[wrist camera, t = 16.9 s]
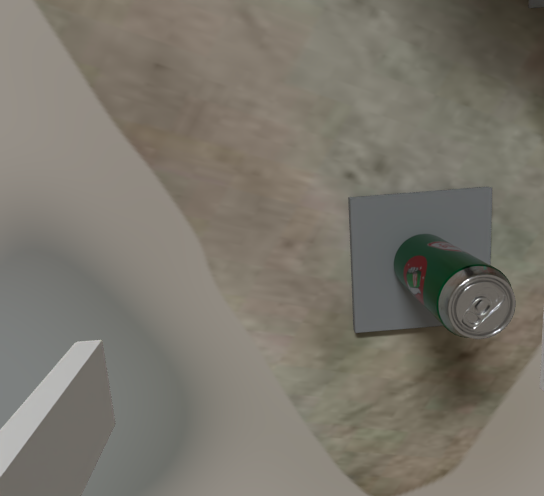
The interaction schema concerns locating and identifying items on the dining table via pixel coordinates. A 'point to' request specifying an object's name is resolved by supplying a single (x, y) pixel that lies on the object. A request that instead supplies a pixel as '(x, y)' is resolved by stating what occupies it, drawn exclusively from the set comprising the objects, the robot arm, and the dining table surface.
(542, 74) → the dining table surface
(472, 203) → the grey square plate
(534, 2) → the slate grey block
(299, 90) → the dining table surface
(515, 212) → the dining table surface
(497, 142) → the dining table surface
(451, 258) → the soda can
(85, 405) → the robot arm
